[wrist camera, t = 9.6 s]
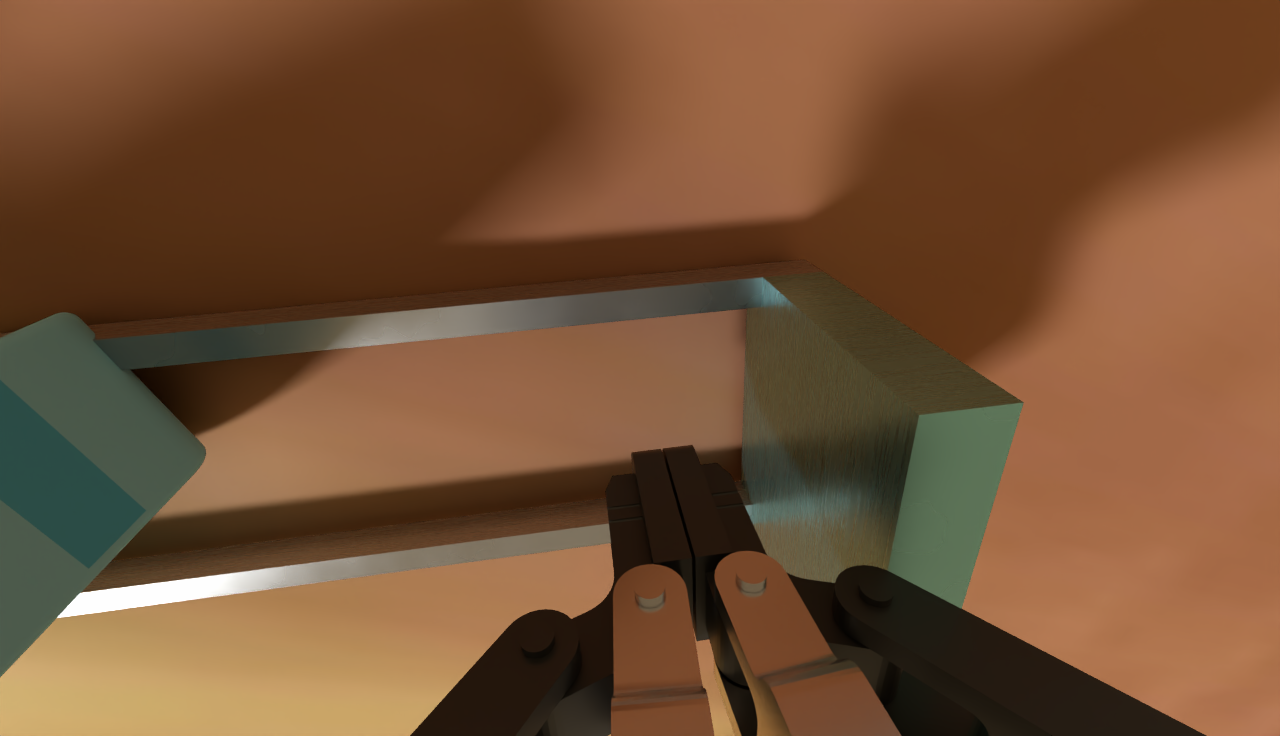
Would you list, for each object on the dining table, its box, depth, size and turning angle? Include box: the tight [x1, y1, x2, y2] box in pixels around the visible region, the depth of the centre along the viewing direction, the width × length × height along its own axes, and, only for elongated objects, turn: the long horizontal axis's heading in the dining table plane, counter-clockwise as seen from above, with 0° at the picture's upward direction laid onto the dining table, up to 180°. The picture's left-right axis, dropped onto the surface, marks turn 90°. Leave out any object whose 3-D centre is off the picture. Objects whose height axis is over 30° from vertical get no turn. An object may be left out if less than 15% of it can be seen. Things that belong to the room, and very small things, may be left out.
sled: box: [0, 260, 1024, 618], centre depth 12 cm, size 8×30×8 cm, turn 93°
